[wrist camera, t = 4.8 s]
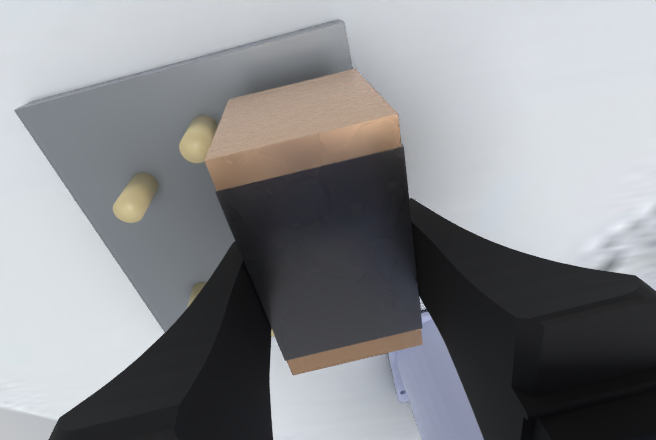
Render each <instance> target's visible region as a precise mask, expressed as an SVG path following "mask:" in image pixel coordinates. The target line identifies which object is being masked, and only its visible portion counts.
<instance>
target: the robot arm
mask: <svg viewBox="0 0 656 440" xmlns="http://www.w3.org/2000/svg"><path fill="white" fill-rule="evenodd" d="M409 203H410V213H411V222H412V232H413V241H414V251H415V260H416V270H417V280H418V289H419V296H420V298H421V300H422V301H423V303H424V305H425V307H426V309H427V310H428V312H424V313H421V318H422V327H423V328H422V329H421V332H422V342H423V345H419V346H415V347H411V348H406V349H402V350H398V351H394V352H389V353H388V355H389V360H390V365H391V369H392V374H393V379H394V383H395V388H396V393H397V397H398V400H399V402H401V403H406V402H409V403H410V406H411V409H412V412H413V415H414V418H415V421H416V424H417V427H418V430H419V432H420V435H421V438H422V440H656V291H655V290H654V289H652V288H651V287H650V286H649V285H647V284H646V283H645V282H644V281H642V280H641V279H640V278H638V277H637V276H635V275H628V274H621V273H614V272H607V271H601V270H594V269H588V268H583V267H578V266H573V265H568V264H563V263H559V262H555V261H551V260H547V259H543V258H539V257H536V256H533V255H529V254H526V253H522V252H519V251H516V250H513V249H510V248H507V247H505V246H502V245H500V244H497V243H494V242H492V241H489V240H487V239H485V238H482V237H480V236H478V235H476V234H474V233H472V232H469V231H467V230H465V229H463V228H461V227H459V226H458V225H456V224H454V223H452V222H450V221H448V220H447V219H445V218H443V217H441V216H440V215H438V214H436V213H435V212H433V211H431V210H430V209H428V208H427V207H425V206H423V205H422V204H420V203H419V202H417V201H415V200H414V199H412V198H410V199H409ZM271 330H272V328H271V326H270V323H269V321H268V318H267V316H266V314H265V311H264V309H263V306H262V304H261V302H260V299H259V297H258V294H257V292H256V290H255V287H254V285H253V282H252V280H251V277H250V275H249V273H248V270H247V268H246V265H245V263H244V261H243V258H242V256H241V253H240V251H239V249H238V246H237V244H236V241H235V242H233V243H232V245H231V246H230V248H229V249H228V251H227V253H226V254H225V256H224V257H223V259H222V260H221V262H220V263H219V265H218V267H217V268H216V270H215V271H214V273H213V274H212V276H211V277H210V278H209V280H208V281H207V283H206V284H205V286H204V287H203V288H202V290H201V291H200V292H199V294H198V295H197V296H196V297H195V299H194V300H193V301H192V303H191V304H190V305H189V307H188V308H187V309H186V310H185V311H184V313H183V314H182V315H181V316H180V317H179V318H178V319H177V321H176V322H175V323H174V324H173V325H172V326H171V327H170V328H169V329H168V330H167V331H166V332H165V333H164V334H163V335H162V336H161V337H160V338H159V339H158V340H157V341H156V342H155V343H154V344H153V345H152V346H151V347H150V348H149V349H148V350H147V351H145V352H144V353H143V354H142V355H141V356H140V357H139V358H138V359H137V360H136V361H134V362H133V363H132V364H131V365H130V366H129V367H127V368H126V369H125V370H124V371H123V372H121V373H120V374H119V375H118V376H116V377H115V378H114V379H113V380H111V381H110V382H109V383H107V384H106V385H105V386H103V387H102V388H101V389H100V390H98V391H97V392H95V393H94V394H93V395H91V396H90V397H88V398H87V399H86V400H84V401H83V402H81V403H80V404H78V405H77V406H76V407H74V408H73V409H71V410H70V411H69V412H67V413H66V414H64V415H63V416H61V417H60V418H59V420H58V422H57V424H56V426H55V428H54V430H53V432H52V434H51V436H50V438H49V440H273V434H272V420H271V404H270V387H269V371H270V351H271Z"/></svg>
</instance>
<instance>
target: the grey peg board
mask: <svg viewBox="0 0 656 440" xmlns="http://www.w3.org/2000/svg"><path fill="white" fill-rule="evenodd" d="M351 69H353V68H352V63H351V57H350V51H349V46H348V40H347V35H346V29H345V24H344V22H343V21H341V20H337V21H333V22H329V23H325V24H322V25H318V26H314V27H310V28H307V29H303V30H299V31H296V32H292V33H288V34H284V35H281V36H277V37H273V38H269V39H266V40H262V41H258V42H254V43H251V44H247V45H243V46H239V47H236V48H232V49H228V50H224V51H221V52H217V53H213V54H209V55H206V56H202V57H198V58H194V59H191V60H187V61H183V62H179V63H176V64H172V65H168V66H164V67H161V68H157V69H153V70H149V71H146V72H142V73H138V74H134V75H131V76H127V77H123V78H119V79H116V80H112V81H108V82H105V83H101V84H97V85H93V86H90V87H86V88H82V89H78V90H75V91H71V92H67V93H63V94H60V95H56V96H52V97H48V98H45V99H41V100H37V101H33V102H30V103H28V104H26V105H24V106H22V107H20V108H18V109H16V110H14V111H15V112H16V114H17V115H18V117H19V118H20V120H21V121H22V123H23V124H24V126H25V127H26V128H27V130H28V131H29V133H30V134H31V136H32V137H33V139H34V140H35V142H36V143H37V145H38V146H39V148H40V149H41V151H42V152H43V154H44V155H45V156H46V158H47V159H48V161H49V162H50V164H51V165H52V167H53V168H54V170H55V171H56V173H57V174H58V176H59V177H60V179H61V180H62V182H63V183H64V184H65V186H66V187H67V189H68V190H69V192H70V193H71V195H72V196H73V198H74V199H75V201H76V202H77V204H78V205H79V207H80V208H81V210H82V211H83V212H84V214H85V215H86V217H87V218H88V220H89V221H90V223H91V224H92V226H93V227H94V229H95V230H96V232H97V233H98V235H99V236H100V237H101V239H102V240H103V242H104V243H105V245H106V246H107V248H108V249H109V251H110V252H111V254H112V255H113V257H114V258H115V260H116V261H117V263H118V264H119V265H120V267H121V268H122V270H123V271H124V273H125V274H126V276H127V277H128V279H129V280H130V282H131V283H132V285H133V286H134V288H135V289H136V291H137V292H138V293H139V295H140V296H141V298H142V299H143V301H144V302H145V304H146V305H147V307H148V308H149V310H150V311H151V313H152V314H153V316H154V317H155V319H156V320H157V321H158V323H159V324H160V326H161V327H162V329H163V330H164V332H166V331H167V330H168V329H169V328H170V327H171V326H172V325H173V324H174V323H175V322H176V321H177V319H178V318H179V317H180V316H181V315H182V314H183V313H184V311H185V310H186V309H187V308H188V307H189V305H190V304H191V303H192V301H193V300H194V299H195V297H196V296H197V295H198V294H199V292H200V291H201V290H202V288H203V287H204V286H205V284H206V283H207V281H208V280H209V278H210V277H211V276H212V274H213V273H214V271H215V270H216V268H217V267H218V265H219V263H220V262H221V260H222V259H223V257H224V256H225V254H226V253H227V251H228V249H229V248H230V246H231V245H232V243H233V242H235V239H234V237H233V234H232V232H231V229H230V227H229V225H228V222H227V220H226V217H225V215H224V213H223V210H222V208H221V205H220V203H219V201H218V198H217V196H216V193H215V190H216V188H215V185H214V183H213V181H212V178H211V176H210V173H209V171H208V168H207V166H206V164H205V161H204V160H205V158H206V155H207V153H208V150H209V148H210V145H211V143H212V140H213V138H214V135H215V133H216V130H217V128H218V125H219V123H220V120H221V118H222V115H223V113H224V110H225V108H226V105H227V103H228V100H229V99H232V98H236V97H240V96H244V95H248V94H252V93H257V92H261V91H265V90H269V89H273V88H277V87H281V86H285V85H290V84H294V83H298V82H302V81H306V80H310V79H314V78H318V77H323V76H327V75H331V74H335V73H339V72H343V71H347V70H351ZM271 336H275V335H274V333H273V330H271Z"/></svg>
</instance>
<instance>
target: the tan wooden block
mask: <svg viewBox="0 0 656 440" xmlns="http://www.w3.org/2000/svg"><path fill="white" fill-rule="evenodd" d="M204 161H205V164H206V166H207V168H208V171H209V173H210V176H211V178H212V181H213V183H214V185H215V188H216V190H215V193H216V196H217V198H218V201H219V203H220V205H221V208H222V210H223V213H224V215H225V217H226V220H227V222H228V225H229V227H230V229H231V232H232V234H233V237H234V239H235V241H236V244H237V246H238V249H239V251H240V253H241V256H242V258H243V261H244V263H245V265H246V268H247V270H248V273H249V275H250V277H251V280H252V282H253V285H254V287H255V290H256V292H257V294H258V297H259V299H260V302H261V304H262V306H263V309H264V311H265V314H266V316H267V318H268V321H269V323H270V326H271V328H272V330H273V333H274V335H275V338H276V340H277V342H278V345H279V347H280V350H281V352H282V354H283V357H284V359H285V361H286V360H287V363H288V365H289V367H290V370H291V372H292V375H296V374H301V373H305V372H309V371H313V370H317V369H322V368H326V367H330V366H334V365H339V364H343V363H347V362H351V361H356V360H360V359H364V358H368V357H373V356H377V355H381V354H385V353H389V352H394V351H398V350H402V349H406V348H411V347H415V346H419V345H423V342H422V332H421V329H422V328H423V327H422V318H421V308H420V299H419V289H418V280H417V270H416V260H415V251H414V241H413V232H412V222H411V213H410V203H409V194H408V184H407V174H406V165H405V155H404V146H403V145H402V144H401V137H400V128H399V119H398V114H397V113H396V111H395V110H394V109H393V108H392V107H391V106H390V105H389V104H388V103H387V102H386V101H385V100H384V99H383V98H382V97H381V96H380V95H379V94H378V92H377V91H376V90H375V89H374V88H373V87H372V86H371V85H370V84H369V83H368V82H367V81H366V80H365V79H364V78H363V77H362V76H361V75H360V73H359V72H358V71H357V70H356V69H351V70H347V71H343V72H339V73H335V74H331V75H327V76H323V77H318V78H314V79H310V80H306V81H302V82H298V83H294V84H290V85H285V86H281V87H277V88H273V89H269V90H265V91H261V92H257V93H252V94H248V95H244V96H240V97H236V98H232V99H229V100H228V103H227V105H226V108H225V110H224V113H223V115H222V118H221V120H220V123H219V125H218V128H217V130H216V133H215V135H214V138H213V140H212V143H211V145H210V148H209V150H208V153H207V155H206V158H205V160H204Z"/></svg>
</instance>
